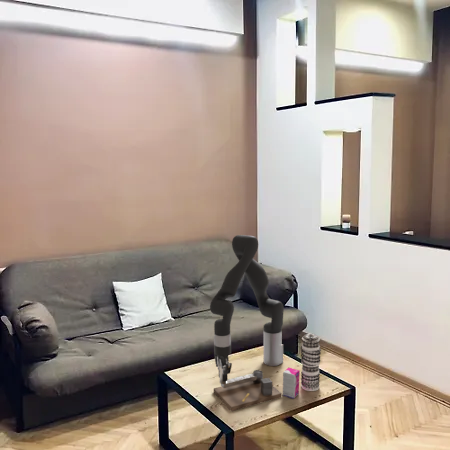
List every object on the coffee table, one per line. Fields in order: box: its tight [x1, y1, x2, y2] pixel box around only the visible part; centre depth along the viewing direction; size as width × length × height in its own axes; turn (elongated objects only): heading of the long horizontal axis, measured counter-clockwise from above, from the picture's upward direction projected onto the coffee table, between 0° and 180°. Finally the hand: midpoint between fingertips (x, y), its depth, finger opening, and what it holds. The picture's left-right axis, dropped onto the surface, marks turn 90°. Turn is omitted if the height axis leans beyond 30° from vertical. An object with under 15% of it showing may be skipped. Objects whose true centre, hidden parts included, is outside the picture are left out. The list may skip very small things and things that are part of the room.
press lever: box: [218, 365, 264, 388], centre depth 227 cm, size 22×4×12 cm, turn 116°
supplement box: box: [282, 367, 301, 399], centre depth 222 cm, size 6×6×12 cm
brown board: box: [213, 377, 283, 412], centre depth 223 cm, size 25×18×8 cm
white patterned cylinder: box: [300, 333, 322, 392], centre depth 228 cm, size 9×9×25 cm
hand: (223, 379), depth 223 cm, fingers closed on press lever, 3 cm apart
